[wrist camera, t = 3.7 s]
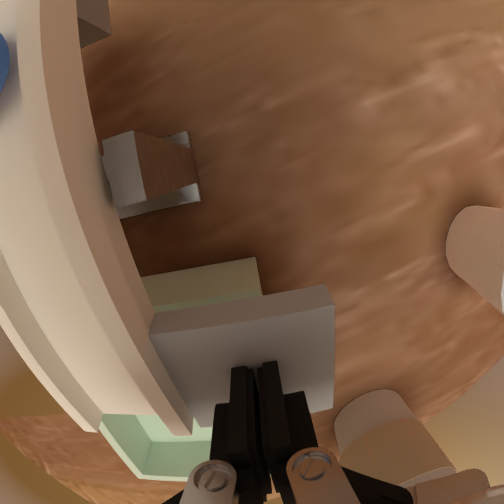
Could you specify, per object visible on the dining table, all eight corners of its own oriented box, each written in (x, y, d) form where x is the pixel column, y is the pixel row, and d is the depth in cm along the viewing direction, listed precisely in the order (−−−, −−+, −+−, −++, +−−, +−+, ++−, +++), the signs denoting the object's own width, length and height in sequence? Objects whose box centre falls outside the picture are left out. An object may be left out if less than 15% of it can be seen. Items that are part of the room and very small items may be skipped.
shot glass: (443, 297, 19) (498, 340, 13) (431, 214, 18) (501, 238, 11) (498, 263, 19) (553, 292, 12) (491, 186, 17) (556, 200, 10)
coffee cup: (316, 451, 24) (343, 580, 9) (328, 388, 21) (382, 558, 7) (397, 434, 24) (447, 543, 9) (423, 371, 21) (507, 495, 7)
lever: (7, 15, 6) (-75, 1, 1) (244, -76, 6) (252, -162, 1) (117, 370, 16) (92, 453, 10) (314, 346, 15) (342, 440, 10)
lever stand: (72, 169, 16) (-37, 182, 7) (189, 132, 16) (128, 97, 7) (84, 227, 17) (-15, 277, 8) (202, 198, 17) (154, 235, 8)
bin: (75, 288, 18) (38, 320, 14) (255, 256, 18) (259, 289, 13) (149, 438, 23) (138, 478, 18) (287, 428, 22) (294, 473, 18)
